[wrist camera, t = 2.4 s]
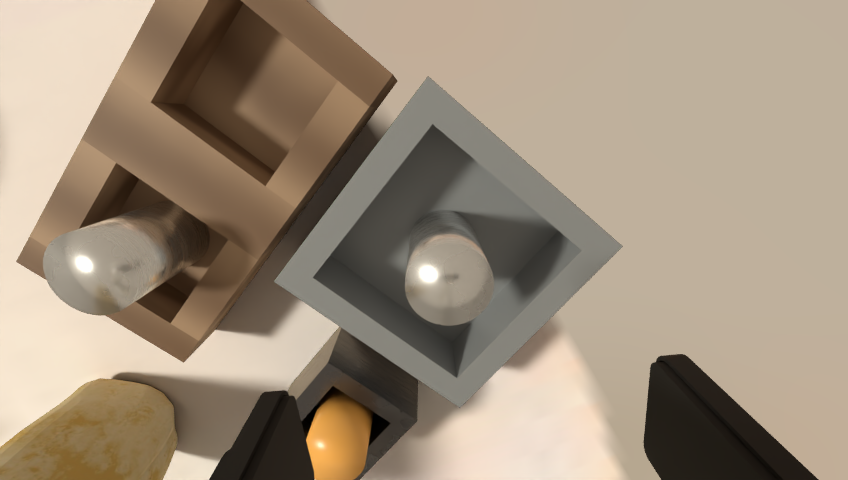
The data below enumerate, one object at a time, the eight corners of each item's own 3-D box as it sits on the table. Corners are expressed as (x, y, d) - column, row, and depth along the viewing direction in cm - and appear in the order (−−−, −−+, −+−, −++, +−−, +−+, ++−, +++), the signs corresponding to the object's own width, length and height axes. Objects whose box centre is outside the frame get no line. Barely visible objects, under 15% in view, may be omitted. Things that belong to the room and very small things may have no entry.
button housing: (418, 372, 30) (417, 420, 26) (363, 430, 32) (353, 485, 27) (343, 321, 29) (327, 362, 24) (291, 384, 31) (266, 434, 26)
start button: (385, 402, 28) (378, 455, 23) (353, 436, 28) (341, 494, 24) (340, 373, 27) (325, 422, 23) (309, 409, 28) (288, 463, 23)
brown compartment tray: (240, -53, 22) (202, -89, 18) (397, 80, 24) (392, 74, 20) (73, 241, 27) (16, 261, 23) (214, 330, 29) (183, 362, 25)
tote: (587, 223, 27) (622, 246, 22) (453, 361, 30) (459, 407, 25) (426, 83, 24) (428, 76, 19) (299, 252, 27) (273, 281, 23)
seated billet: (222, 228, 26) (152, 268, 19) (189, 277, 27) (112, 331, 20) (161, 186, 25) (66, 212, 18) (129, 238, 26) (28, 281, 19)
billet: (489, 237, 26) (512, 279, 19) (446, 285, 27) (454, 341, 20) (438, 196, 25) (443, 225, 19) (395, 247, 26) (386, 292, 20)
